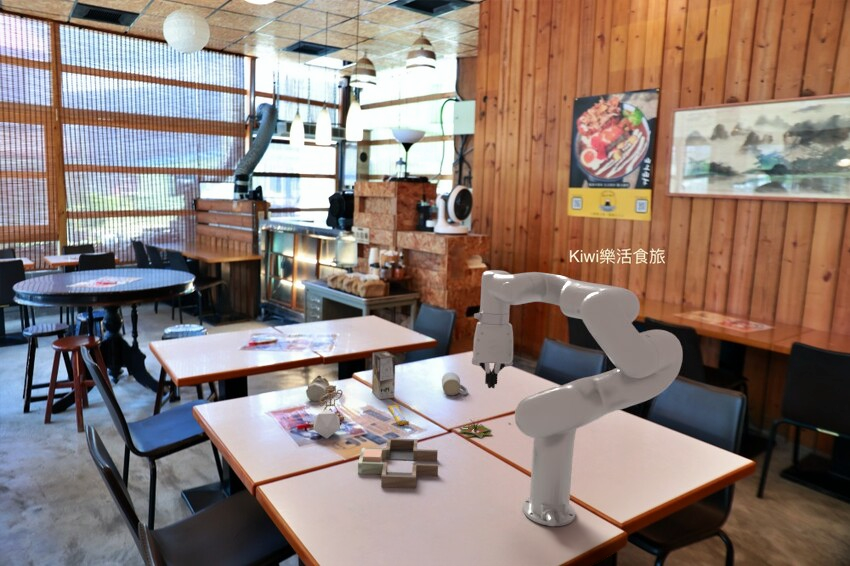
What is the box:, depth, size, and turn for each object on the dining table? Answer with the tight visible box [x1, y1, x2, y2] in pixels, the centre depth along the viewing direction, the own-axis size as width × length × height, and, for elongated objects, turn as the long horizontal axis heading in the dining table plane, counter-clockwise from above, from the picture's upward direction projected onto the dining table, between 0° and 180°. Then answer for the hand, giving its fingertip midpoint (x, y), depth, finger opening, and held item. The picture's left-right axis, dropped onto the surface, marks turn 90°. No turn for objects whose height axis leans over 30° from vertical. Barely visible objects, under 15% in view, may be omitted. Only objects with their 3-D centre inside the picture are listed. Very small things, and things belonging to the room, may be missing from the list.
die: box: [312, 408, 341, 440], centre depth 182 cm, size 8×9×10 cm
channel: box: [357, 438, 439, 489], centre depth 163 cm, size 24×22×3 cm
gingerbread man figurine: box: [318, 384, 345, 421], centre depth 195 cm, size 9×4×12 cm, turn 112°
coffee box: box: [371, 350, 396, 400], centre depth 220 cm, size 9×6×16 cm
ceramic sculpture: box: [305, 375, 337, 402], centre depth 217 cm, size 11×9×15 cm
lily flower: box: [458, 418, 494, 439], centre depth 189 cm, size 12×12×5 cm
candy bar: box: [387, 404, 410, 426], centre depth 201 cm, size 17×4×2 cm, turn 16°
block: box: [363, 449, 383, 462], centre depth 163 cm, size 5×5×4 cm
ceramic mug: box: [441, 372, 469, 396], centre depth 226 cm, size 10×8×7 cm
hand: (490, 386), depth 151 cm, fingers closed
